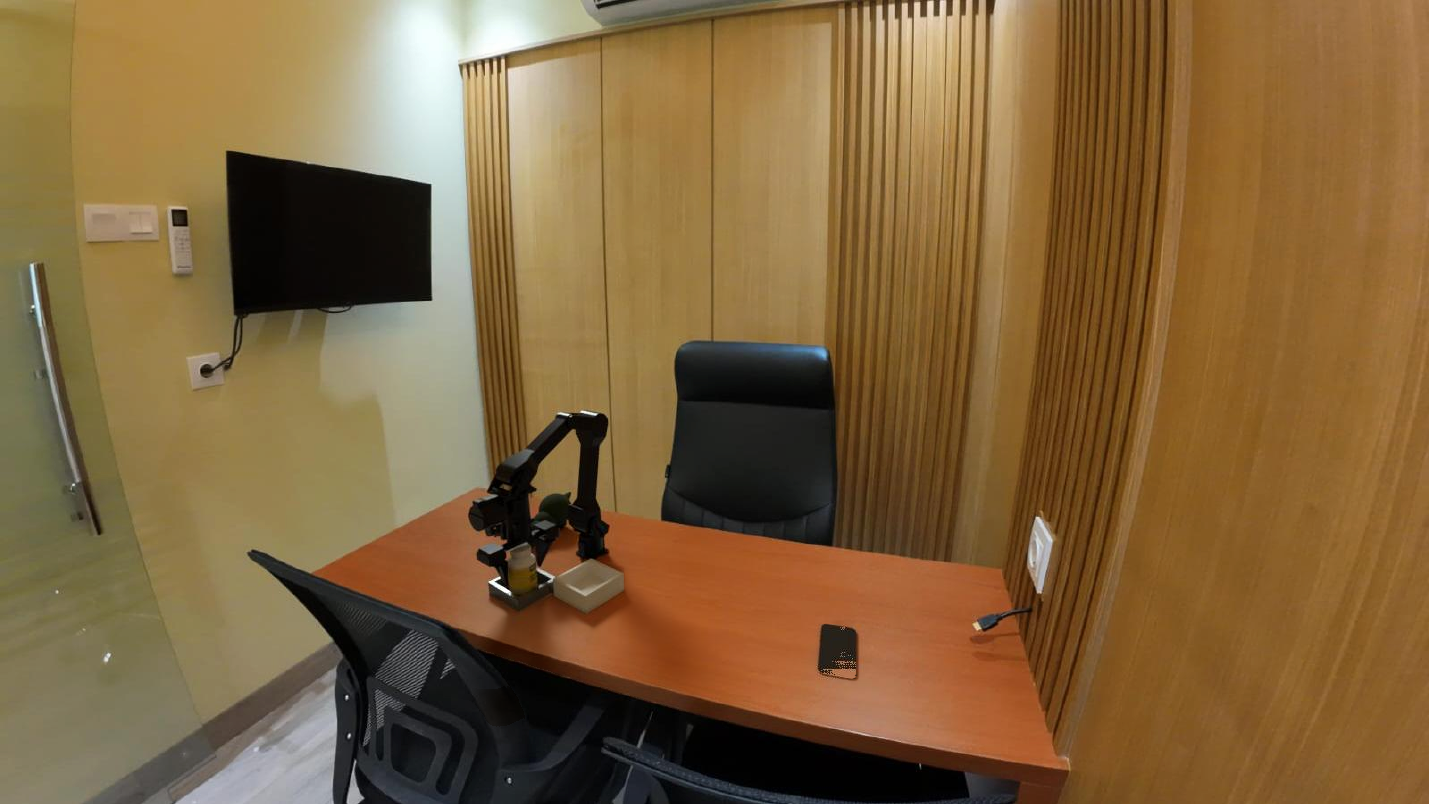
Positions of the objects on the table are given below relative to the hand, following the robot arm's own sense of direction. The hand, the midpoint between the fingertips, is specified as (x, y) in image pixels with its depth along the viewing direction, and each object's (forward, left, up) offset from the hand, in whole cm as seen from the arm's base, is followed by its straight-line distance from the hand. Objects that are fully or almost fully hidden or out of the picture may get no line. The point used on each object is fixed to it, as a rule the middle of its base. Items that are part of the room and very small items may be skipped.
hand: (522, 574), depth 128 cm
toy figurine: (-20, -19, -5) cm, 28 cm away
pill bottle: (0, 0, -5) cm, 5 cm away
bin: (-9, +13, -4) cm, 16 cm away
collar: (0, 0, -4) cm, 4 cm away
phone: (-26, +69, -5) cm, 74 cm away
